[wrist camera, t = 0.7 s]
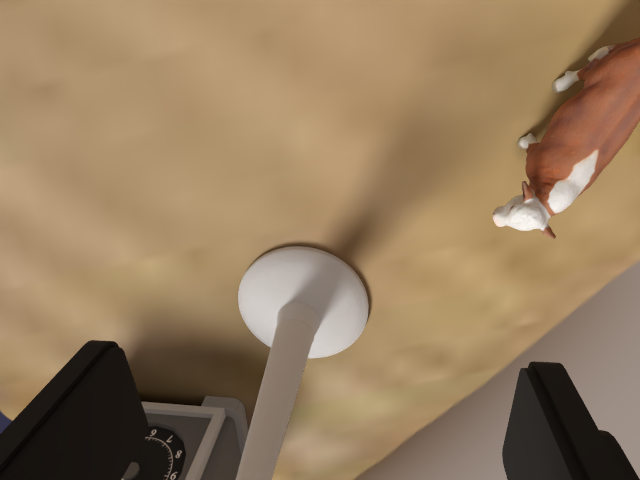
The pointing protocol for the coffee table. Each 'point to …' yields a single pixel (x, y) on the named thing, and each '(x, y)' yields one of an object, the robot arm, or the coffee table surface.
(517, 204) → the bull figurine
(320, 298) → the candlestick
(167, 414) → the alarm clock
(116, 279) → the coffee table surface
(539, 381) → the robot arm
